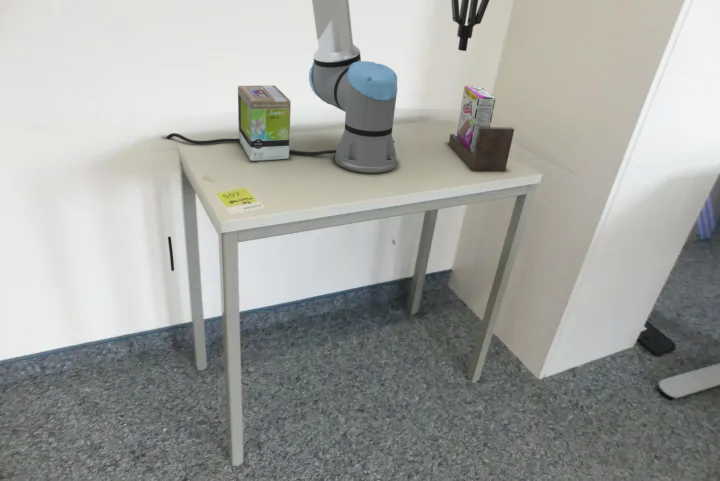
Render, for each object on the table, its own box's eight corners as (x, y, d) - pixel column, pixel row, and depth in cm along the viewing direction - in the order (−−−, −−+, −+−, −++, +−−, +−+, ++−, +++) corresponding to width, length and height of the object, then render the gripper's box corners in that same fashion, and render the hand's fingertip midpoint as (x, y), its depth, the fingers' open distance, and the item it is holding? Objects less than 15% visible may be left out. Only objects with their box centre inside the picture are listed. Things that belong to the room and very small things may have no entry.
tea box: (290, 159, 138) (291, 100, 131) (250, 162, 134) (249, 101, 127) (275, 138, 150) (275, 83, 143) (237, 141, 146) (236, 84, 139)
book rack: (472, 170, 141) (480, 128, 135) (448, 144, 157) (454, 105, 152) (505, 171, 143) (514, 129, 137) (477, 144, 159) (485, 106, 154)
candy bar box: (453, 143, 158) (463, 85, 150) (470, 143, 159) (481, 85, 151) (467, 158, 149) (478, 96, 141) (484, 158, 150) (497, 97, 141)
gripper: (457, -47, 142) (443, 50, 152) (505, -42, 145) (488, 53, 155) (448, -46, 149) (436, 46, 159) (494, -41, 152) (479, 50, 161)
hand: (462, 50), depth 157 cm, fingers closed
